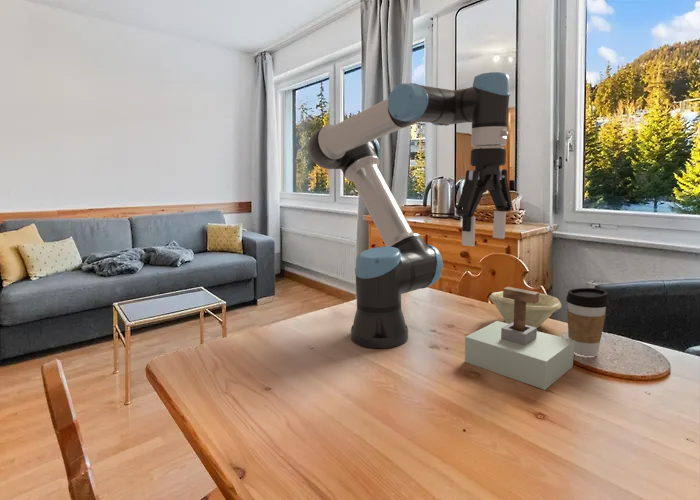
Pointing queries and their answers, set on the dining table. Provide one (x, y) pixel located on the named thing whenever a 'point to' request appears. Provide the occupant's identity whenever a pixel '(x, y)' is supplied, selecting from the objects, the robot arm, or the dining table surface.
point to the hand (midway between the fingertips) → (484, 241)
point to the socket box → (520, 353)
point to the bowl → (527, 308)
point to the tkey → (520, 304)
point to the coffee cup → (586, 318)
